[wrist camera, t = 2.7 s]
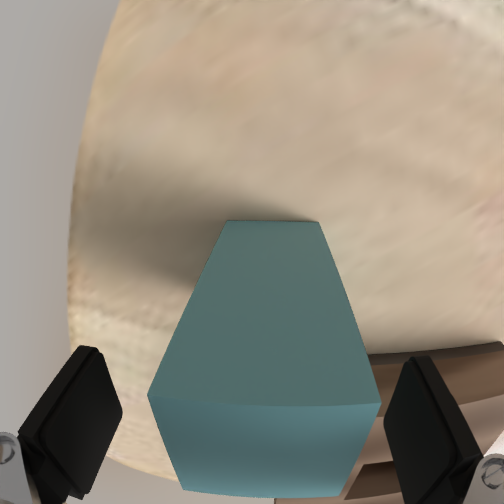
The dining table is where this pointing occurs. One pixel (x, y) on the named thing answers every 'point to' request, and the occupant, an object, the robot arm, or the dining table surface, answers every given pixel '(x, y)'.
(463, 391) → the bore block
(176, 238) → the dining table surface
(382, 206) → the dining table surface
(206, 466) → the peg
